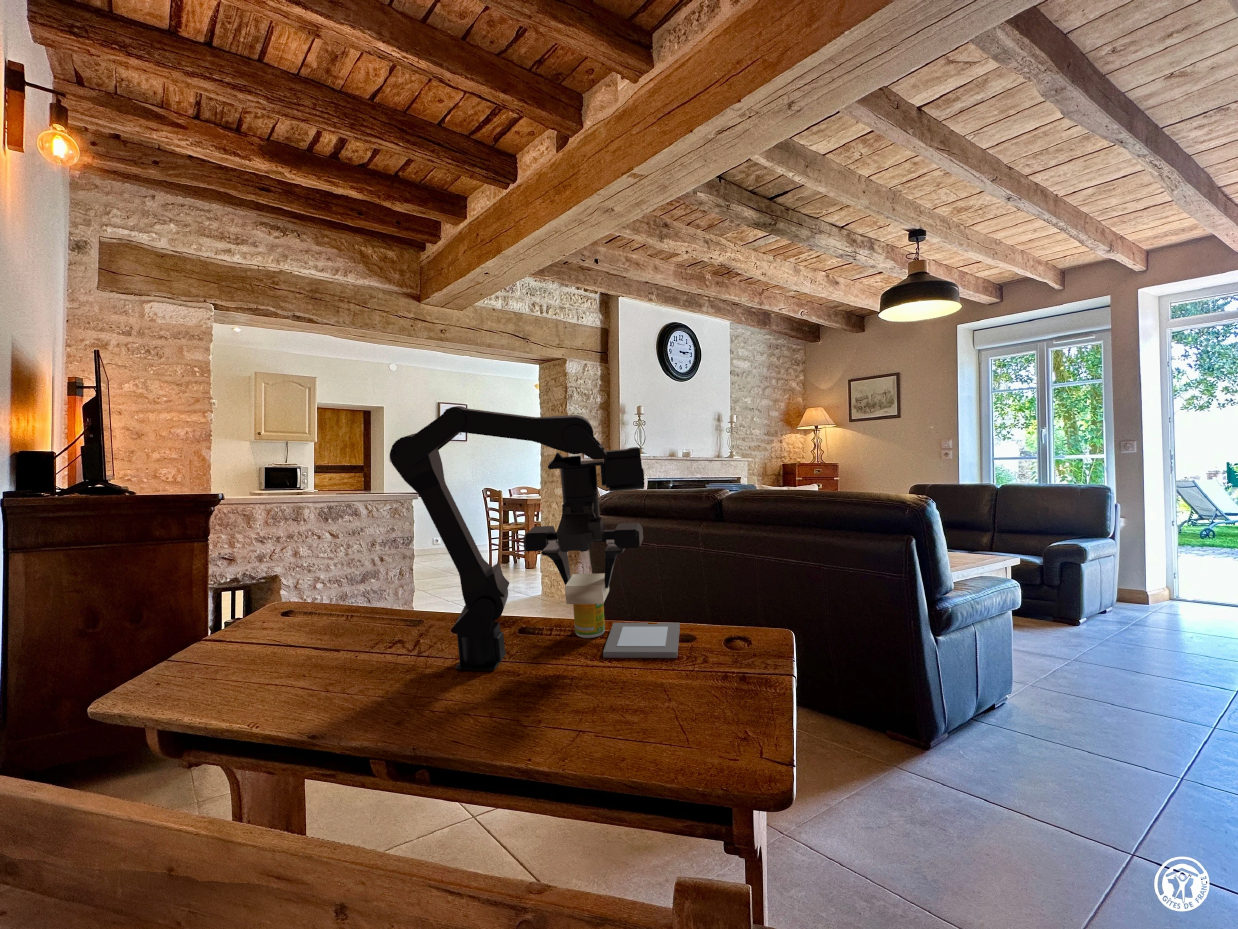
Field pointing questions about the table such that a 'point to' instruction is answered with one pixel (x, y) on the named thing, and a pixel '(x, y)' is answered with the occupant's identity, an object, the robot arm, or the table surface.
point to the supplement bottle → (589, 620)
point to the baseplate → (642, 640)
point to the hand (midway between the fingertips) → (587, 588)
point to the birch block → (586, 589)
